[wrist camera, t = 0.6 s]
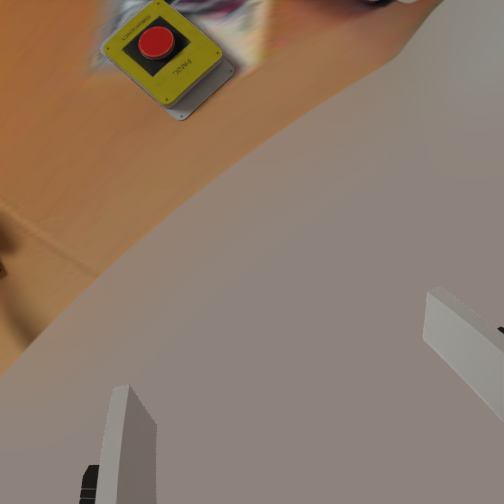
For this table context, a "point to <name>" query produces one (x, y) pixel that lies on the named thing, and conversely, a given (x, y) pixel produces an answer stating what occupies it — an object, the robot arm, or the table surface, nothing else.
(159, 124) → the table surface
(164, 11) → the emergency button
